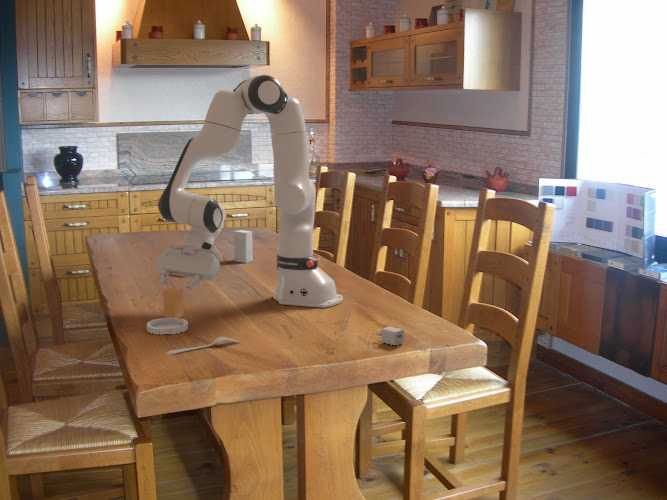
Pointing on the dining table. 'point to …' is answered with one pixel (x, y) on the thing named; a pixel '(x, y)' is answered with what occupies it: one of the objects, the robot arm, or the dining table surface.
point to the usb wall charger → (392, 335)
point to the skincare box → (243, 246)
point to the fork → (201, 346)
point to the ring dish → (167, 326)
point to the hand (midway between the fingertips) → (175, 286)
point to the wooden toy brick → (173, 302)
